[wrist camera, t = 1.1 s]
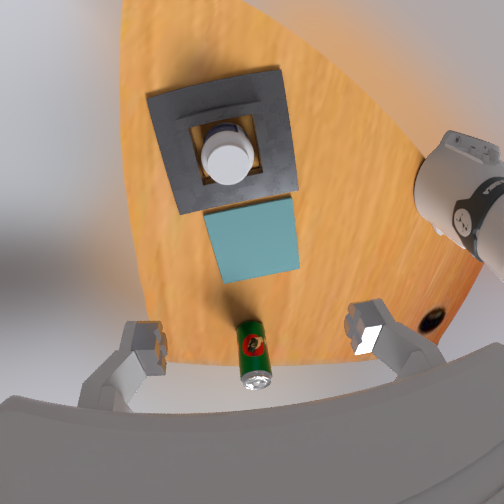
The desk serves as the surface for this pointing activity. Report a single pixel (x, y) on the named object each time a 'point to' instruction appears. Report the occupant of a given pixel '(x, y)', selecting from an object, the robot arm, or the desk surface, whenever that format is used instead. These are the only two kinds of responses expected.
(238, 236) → the mat
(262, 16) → the desk surface
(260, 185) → the square frame
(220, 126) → the pill bottle
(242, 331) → the soda can
